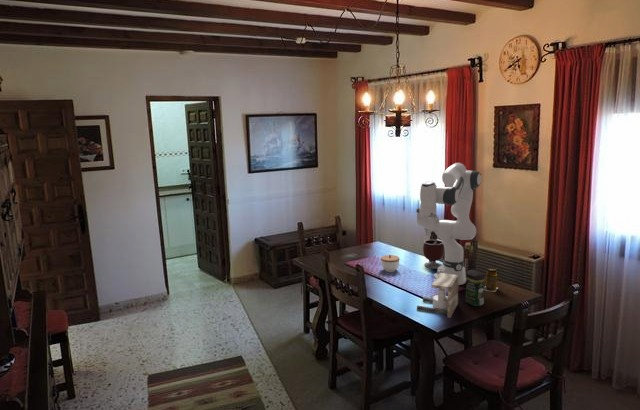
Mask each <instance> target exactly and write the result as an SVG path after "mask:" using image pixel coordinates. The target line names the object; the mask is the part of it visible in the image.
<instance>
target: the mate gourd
mask: <svg viewBox="0 0 640 410" xmlns="http://www.w3.org/2000/svg"><path fill="white" fill-rule="evenodd" d="M422 248H423V250H422V251H423V255H424V257H425V258H426V259H427V260H429V261H428V262H425V263H424V264H423V265H424V267H425V268H428V269H438V267H440V266H441V265H442V264H443V263H440V262H437V261H439V260H441V259H442V257H443V256H444V253H445V249H444V245H443V242H442V240H438V239H428V240H427V239H425V240H424V241H423V247H422Z"/></svg>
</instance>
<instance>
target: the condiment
mask: <svg viewBox="0 0 640 410" xmlns="http://www.w3.org/2000/svg"><path fill="white" fill-rule="evenodd" d="M497 284H498V274H497V269H496V268H492V267H491V268H487V270H486V274H485V286H483V291H486V292H492V293H496V292H497V290H498V289H499V287H498V286H497Z"/></svg>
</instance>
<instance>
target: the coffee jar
mask: <svg viewBox="0 0 640 410" xmlns="http://www.w3.org/2000/svg"><path fill="white" fill-rule="evenodd" d="M465 273H466V286H465V287H466V288H465V296H464V299H465V300H464V301H465V303H466V304H469V305H471V306H472V307H473V306H474V307H481V306H483V305H484V303H485V298H484V297H485V296H484V294H485V293H484V290H483V288H484V284H485V282H486V275H485V273H483V272H480V271H477V270H474V269H469V270H467V271H466V272H465Z"/></svg>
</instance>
